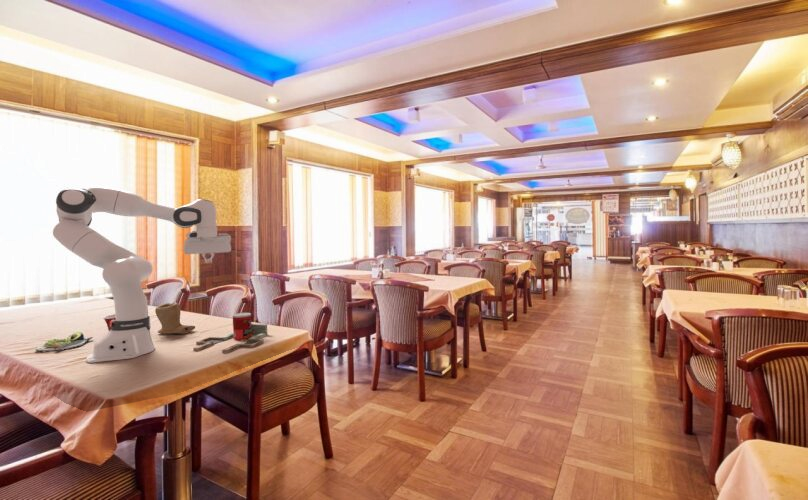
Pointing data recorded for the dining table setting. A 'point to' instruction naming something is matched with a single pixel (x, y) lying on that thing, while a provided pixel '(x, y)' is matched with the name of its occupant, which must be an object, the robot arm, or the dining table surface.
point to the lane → (257, 330)
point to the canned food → (242, 326)
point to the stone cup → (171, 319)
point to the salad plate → (65, 342)
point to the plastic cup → (108, 319)
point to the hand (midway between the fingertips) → (208, 262)
